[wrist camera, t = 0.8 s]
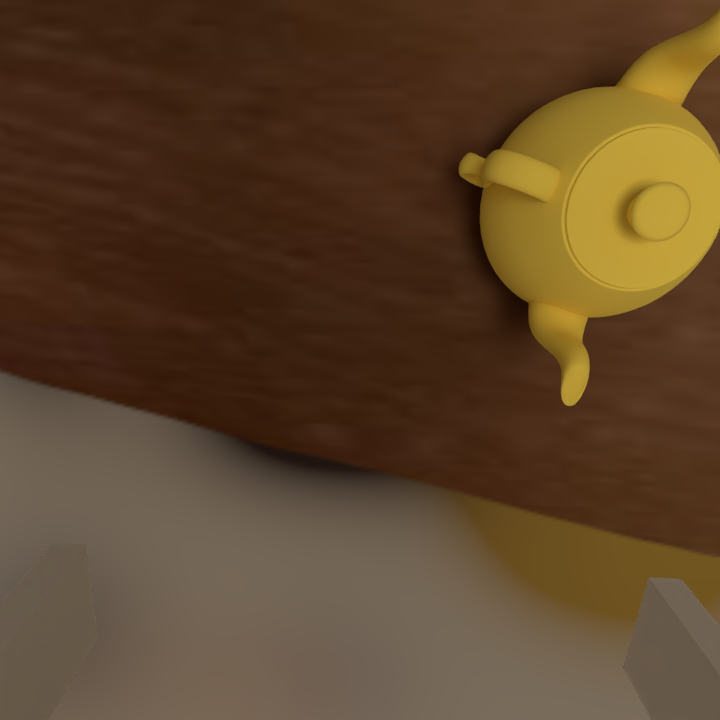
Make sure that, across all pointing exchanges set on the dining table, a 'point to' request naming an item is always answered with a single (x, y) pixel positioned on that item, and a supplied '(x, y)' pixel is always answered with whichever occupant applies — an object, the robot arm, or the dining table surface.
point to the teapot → (603, 198)
